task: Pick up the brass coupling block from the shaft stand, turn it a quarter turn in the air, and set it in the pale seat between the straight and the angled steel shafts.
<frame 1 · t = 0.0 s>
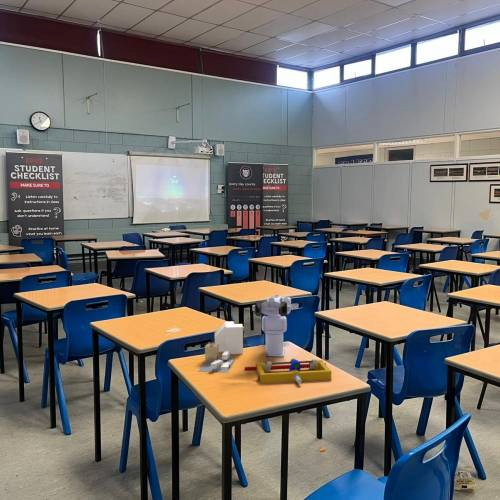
hand: (269, 310, 188), 22 cm above the table, tool horizontal, fingers open, 7 cm apart
shaft stand: (218, 366, 192), on the table
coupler: (212, 360, 197), point 1 cm above the table, touching shaft stand
corner bracket: (228, 353, 211), on the table
mechanical clamp: (289, 379, 180), on the table
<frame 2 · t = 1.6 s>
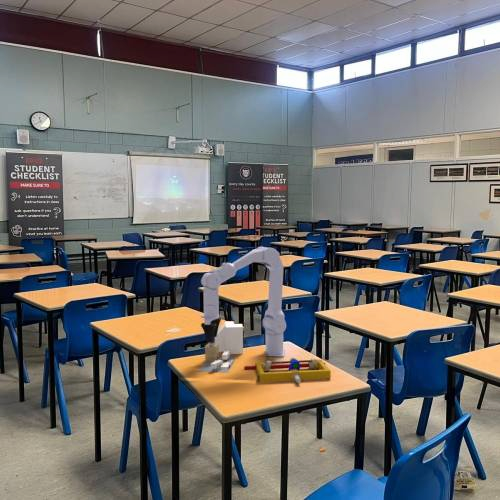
hand: (211, 339, 196), 9 cm above the table, tool pointing down, fingers open, 7 cm apart
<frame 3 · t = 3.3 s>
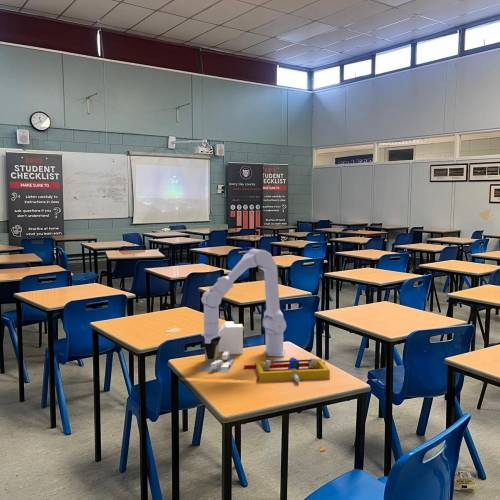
hand: (212, 357, 197), 2 cm above the table, tool pointing down, fingers closed on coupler, 4 cm apart
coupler: (212, 360, 197), point 1 cm above the table, touching gripper, shaft stand
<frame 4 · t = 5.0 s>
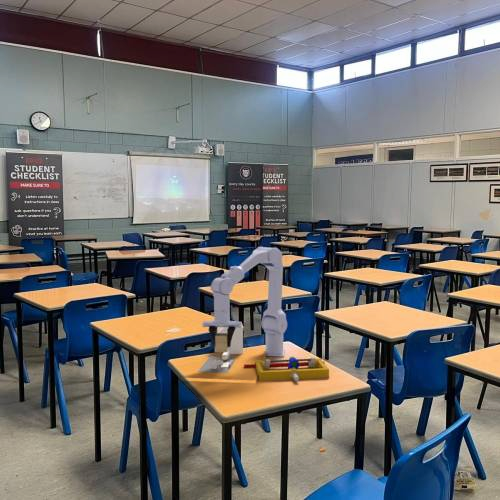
hand: (222, 346, 191), 8 cm above the table, tool pointing down, fingers closed on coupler, 4 cm apart
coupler: (222, 350, 190), point 7 cm above the table, touching gripper
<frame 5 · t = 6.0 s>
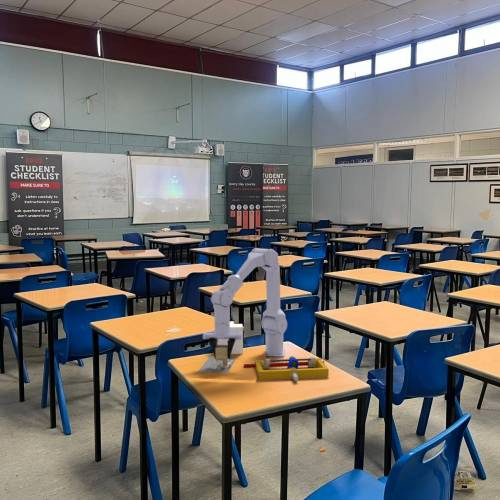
hand: (222, 358, 191), 4 cm above the table, tool pointing down, fingers closed on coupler, 4 cm apart
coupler: (222, 362, 191), point 2 cm above the table, touching gripper
when the fingers open (4 cm above the table, at t = 6.6 s): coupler stays where it is, resting on shaft stand.
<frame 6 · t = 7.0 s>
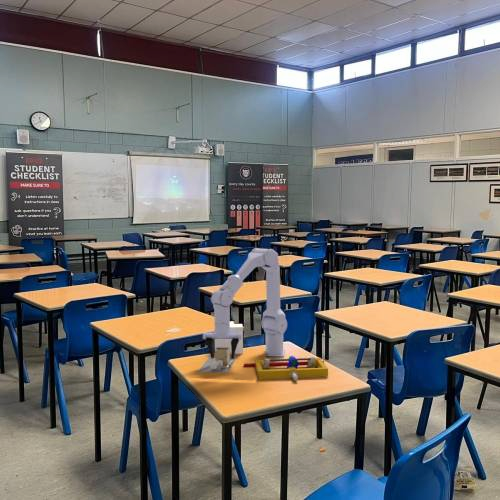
hand: (222, 358, 191), 4 cm above the table, tool pointing down, fingers open, 7 cm apart
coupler: (222, 364, 191), point 1 cm above the table, touching shaft stand
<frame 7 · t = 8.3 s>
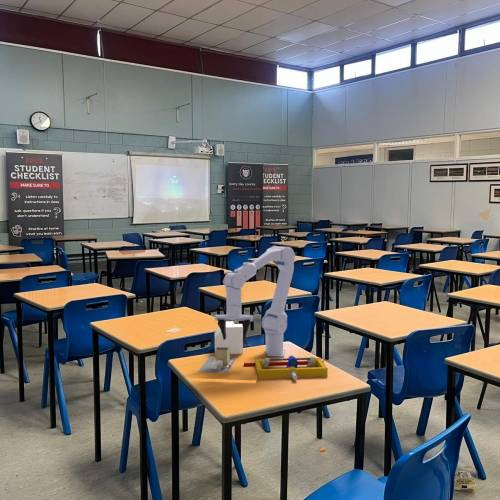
hand: (234, 339, 196), 9 cm above the table, tool pointing down, fingers open, 7 cm apart
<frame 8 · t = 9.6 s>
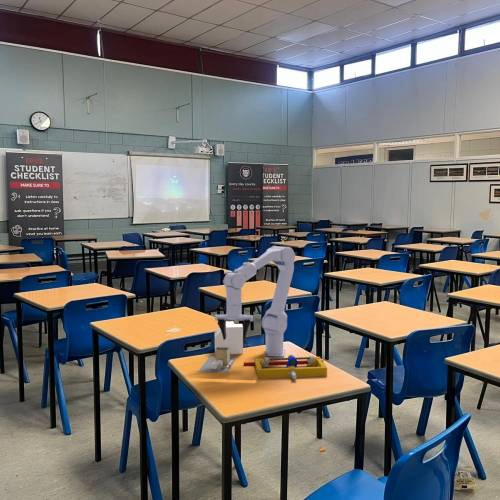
hand: (234, 339, 196), 9 cm above the table, tool pointing down, fingers open, 7 cm apart
at the end: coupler 0.2 cm from the target spot on the shaft stand, point 1.2 cm above the shaft stand's base; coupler tilted 0°; the gripper is holding nothing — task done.
